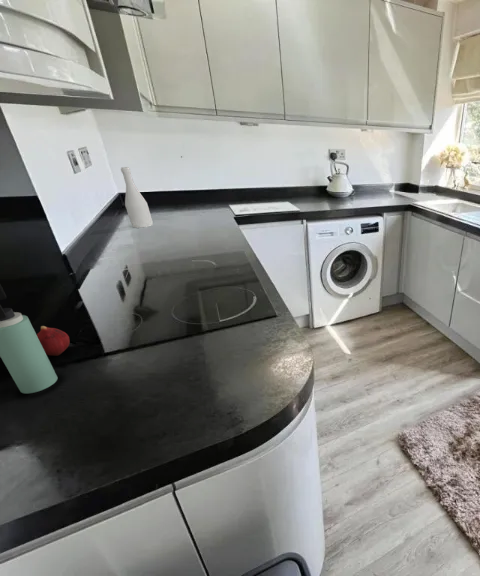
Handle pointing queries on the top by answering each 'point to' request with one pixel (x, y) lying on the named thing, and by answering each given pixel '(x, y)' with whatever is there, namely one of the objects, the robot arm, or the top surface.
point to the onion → (53, 340)
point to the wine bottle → (135, 203)
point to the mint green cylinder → (24, 354)
